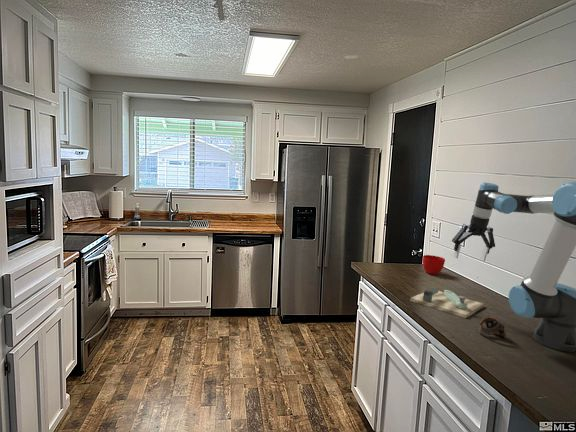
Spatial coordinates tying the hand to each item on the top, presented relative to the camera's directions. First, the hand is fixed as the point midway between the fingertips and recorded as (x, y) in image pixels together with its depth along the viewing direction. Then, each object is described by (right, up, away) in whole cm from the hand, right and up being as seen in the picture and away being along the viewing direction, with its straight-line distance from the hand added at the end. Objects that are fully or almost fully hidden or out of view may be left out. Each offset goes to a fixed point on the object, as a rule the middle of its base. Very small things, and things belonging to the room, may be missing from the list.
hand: (469, 258), depth 194 cm
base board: (-10, -22, +2) cm, 24 cm away
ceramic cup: (+5, -15, +62) cm, 64 cm away
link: (-6, -21, +2) cm, 22 cm away
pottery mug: (-5, -27, -32) cm, 42 cm away
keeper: (-18, -20, +2) cm, 27 cm away
